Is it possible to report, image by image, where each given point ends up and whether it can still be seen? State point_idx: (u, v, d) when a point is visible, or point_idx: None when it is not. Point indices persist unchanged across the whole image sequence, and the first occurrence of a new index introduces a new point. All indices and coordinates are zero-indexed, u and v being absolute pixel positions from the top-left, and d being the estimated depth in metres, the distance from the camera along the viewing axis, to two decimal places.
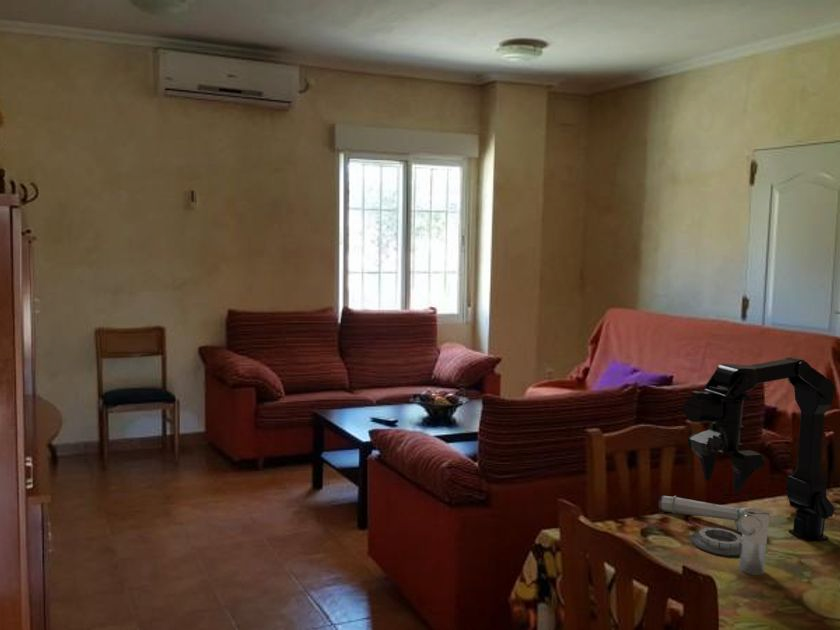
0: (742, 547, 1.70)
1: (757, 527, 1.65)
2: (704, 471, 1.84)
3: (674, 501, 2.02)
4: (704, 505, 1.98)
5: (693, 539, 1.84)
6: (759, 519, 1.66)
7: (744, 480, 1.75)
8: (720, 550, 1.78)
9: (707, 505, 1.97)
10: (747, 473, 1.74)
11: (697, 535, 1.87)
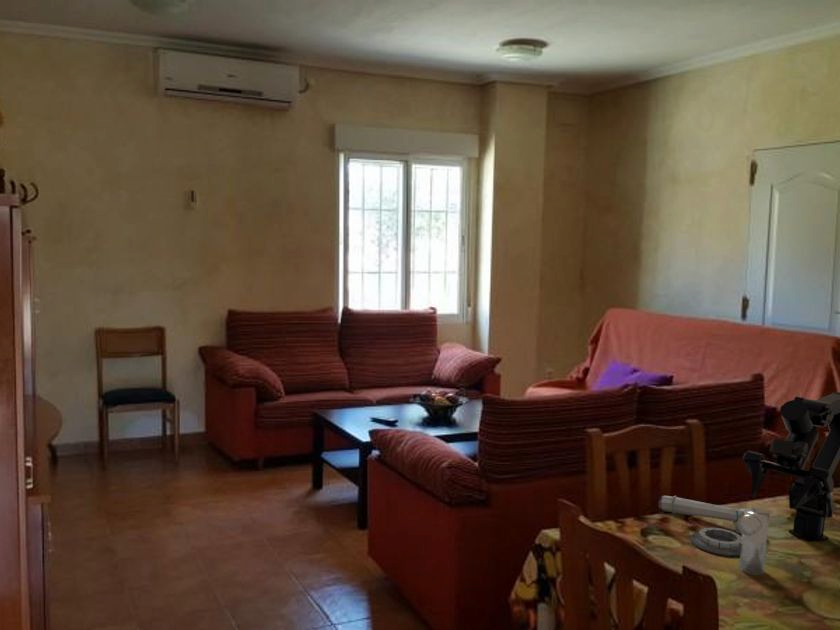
0: (742, 547, 1.70)
1: (757, 527, 1.65)
2: (754, 486, 1.78)
3: (674, 501, 2.02)
4: (703, 505, 1.98)
5: (693, 539, 1.84)
6: (759, 519, 1.66)
7: (806, 499, 1.72)
8: (720, 550, 1.78)
9: (706, 505, 1.97)
10: (810, 494, 1.73)
11: (697, 535, 1.87)
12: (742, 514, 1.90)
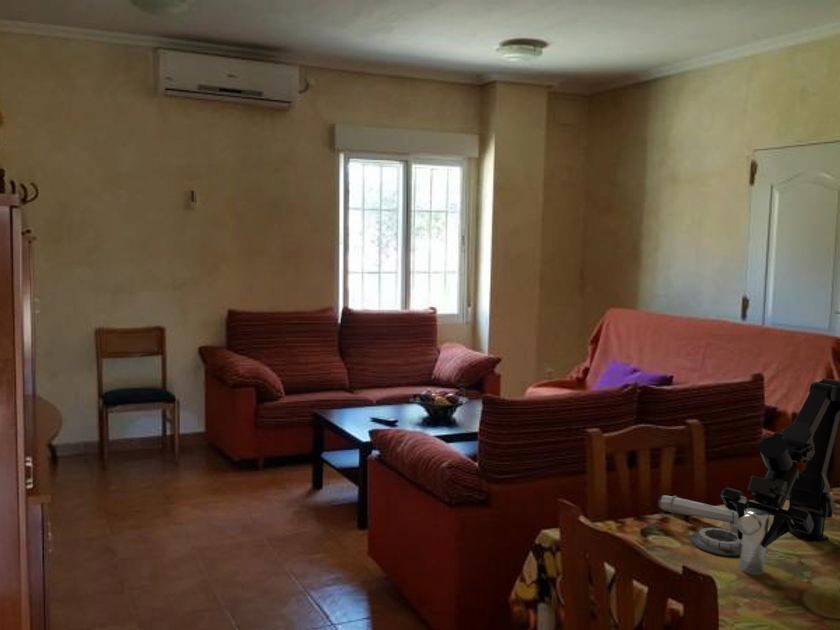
0: (742, 547, 1.70)
1: (756, 527, 1.65)
2: None
3: (673, 501, 2.03)
4: (701, 506, 1.97)
5: (693, 539, 1.84)
6: (759, 519, 1.66)
7: (776, 537, 1.68)
8: (720, 550, 1.78)
9: (704, 506, 1.97)
10: (780, 531, 1.68)
11: (697, 535, 1.87)
12: (737, 515, 1.89)
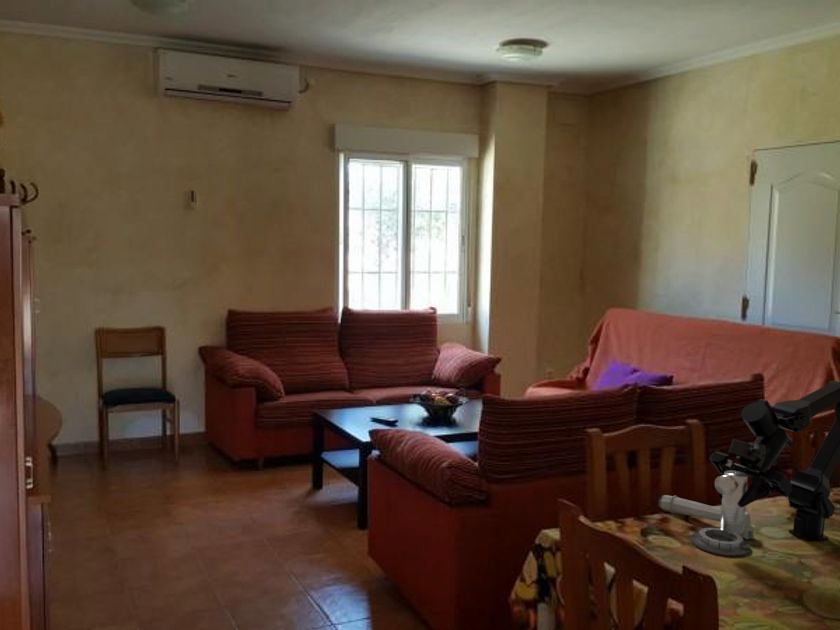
0: (722, 506, 1.77)
1: (731, 486, 1.73)
2: None
3: (672, 500, 2.03)
4: (699, 506, 1.97)
5: (693, 539, 1.84)
6: (735, 479, 1.74)
7: (754, 498, 1.74)
8: (720, 550, 1.78)
9: (702, 506, 1.96)
10: (759, 494, 1.75)
11: (697, 535, 1.87)
12: None
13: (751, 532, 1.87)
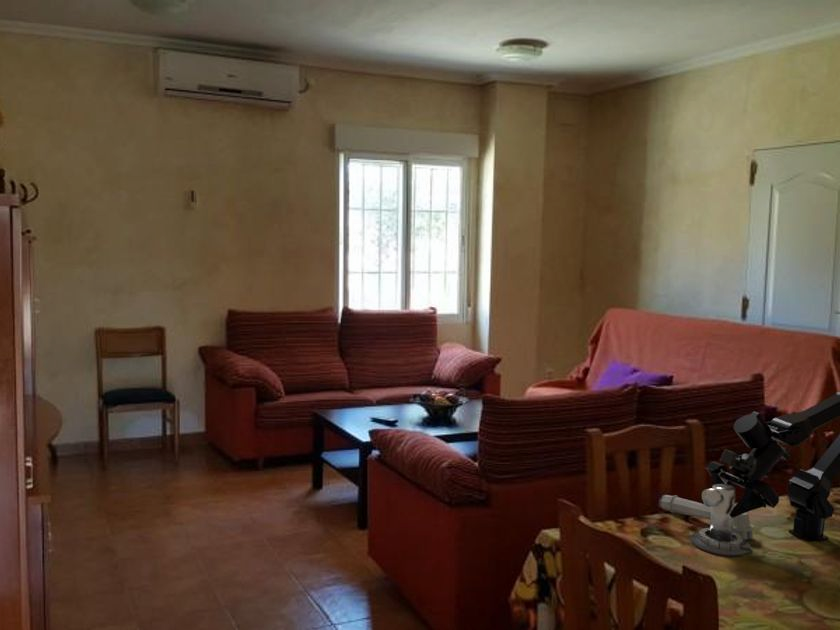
0: (710, 519, 1.84)
1: (715, 499, 1.79)
2: None
3: (672, 500, 2.03)
4: (699, 506, 1.97)
5: (693, 539, 1.84)
6: (721, 493, 1.80)
7: (745, 509, 1.78)
8: (720, 550, 1.78)
9: (702, 506, 1.96)
10: (752, 505, 1.78)
11: (697, 535, 1.87)
12: None
13: (750, 532, 1.87)
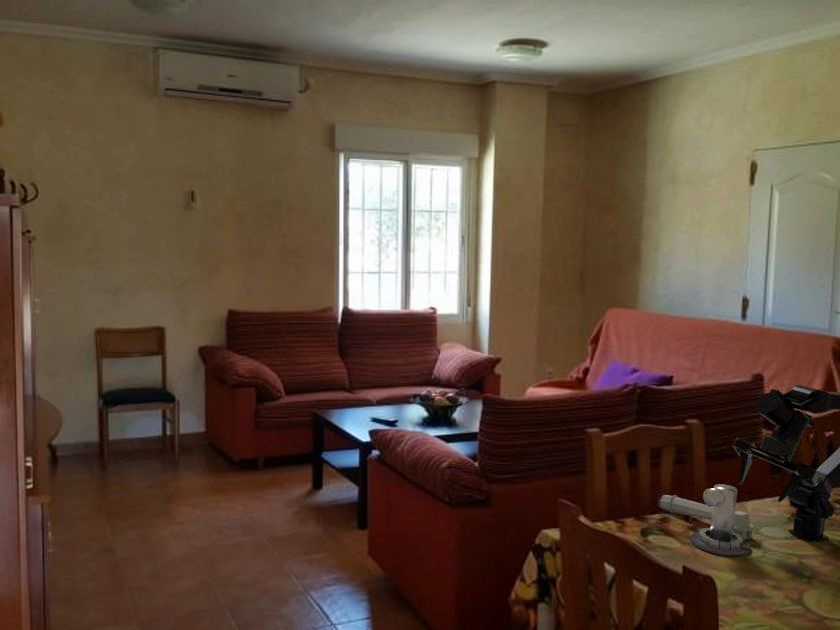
0: (711, 519, 1.84)
1: (717, 499, 1.79)
2: (742, 474, 1.86)
3: (672, 500, 2.03)
4: (699, 506, 1.97)
5: (693, 539, 1.84)
6: (723, 493, 1.80)
7: (790, 492, 1.80)
8: (720, 550, 1.78)
9: (702, 506, 1.96)
10: (795, 486, 1.81)
11: (697, 535, 1.87)
12: None
13: (749, 532, 1.87)
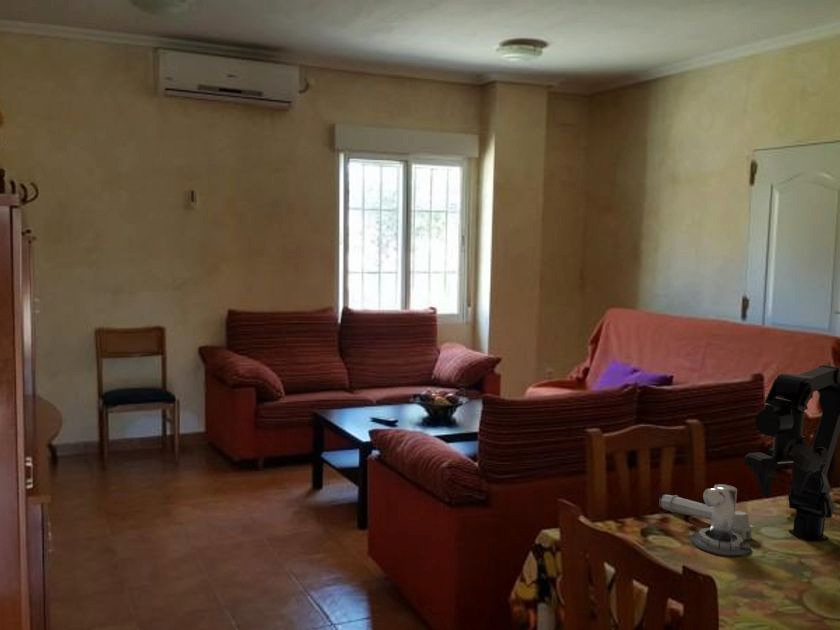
0: (711, 519, 1.84)
1: (717, 499, 1.79)
2: (769, 490, 1.78)
3: (673, 500, 2.03)
4: (699, 506, 1.97)
5: (693, 539, 1.84)
6: (722, 493, 1.80)
7: None
8: (720, 550, 1.78)
9: (702, 506, 1.97)
10: None
11: (697, 535, 1.87)
12: None
13: (749, 532, 1.87)
